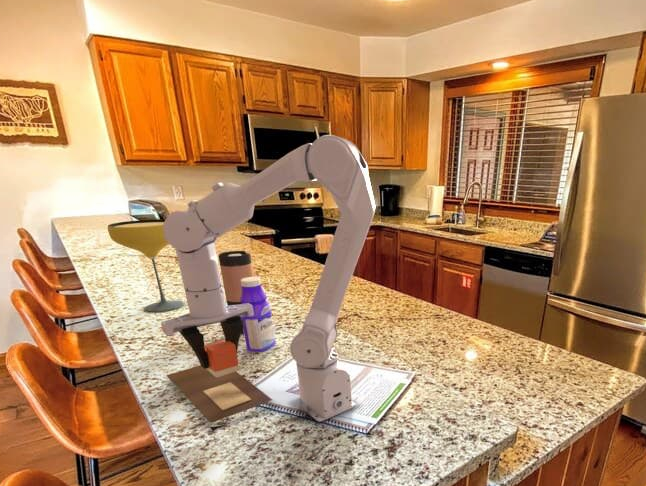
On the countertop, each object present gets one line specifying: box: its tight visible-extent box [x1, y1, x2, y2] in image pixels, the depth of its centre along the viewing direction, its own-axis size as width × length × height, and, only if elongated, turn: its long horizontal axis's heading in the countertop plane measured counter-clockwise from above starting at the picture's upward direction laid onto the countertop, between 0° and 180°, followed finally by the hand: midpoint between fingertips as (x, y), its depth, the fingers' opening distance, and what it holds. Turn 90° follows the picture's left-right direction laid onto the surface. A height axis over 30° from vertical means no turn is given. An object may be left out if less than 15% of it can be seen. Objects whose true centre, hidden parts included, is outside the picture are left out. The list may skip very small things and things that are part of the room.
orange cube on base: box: [198, 340, 242, 378], centre depth 75 cm, size 8×4×5 cm, turn 43°
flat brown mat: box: [166, 365, 273, 431], centre depth 82 cm, size 24×11×2 cm, turn 43°
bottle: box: [240, 276, 277, 353], centre depth 97 cm, size 7×6×17 cm
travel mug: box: [217, 250, 255, 335], centre depth 110 cm, size 8×8×20 cm
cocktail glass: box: [107, 218, 185, 313], centre depth 127 cm, size 18×18×25 cm
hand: (219, 362), depth 75 cm, fingers closed on orange cube on base, 4 cm apart
